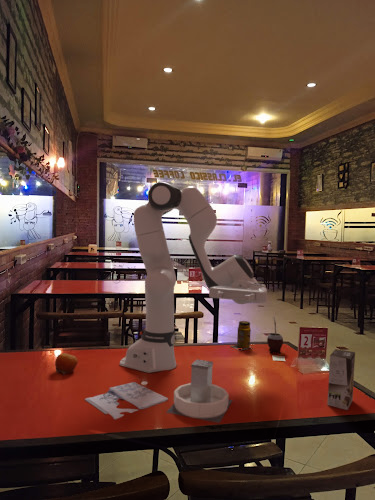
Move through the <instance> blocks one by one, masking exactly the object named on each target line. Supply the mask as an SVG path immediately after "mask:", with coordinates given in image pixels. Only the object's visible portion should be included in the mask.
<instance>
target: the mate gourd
mask: <svg viewBox="0 0 375 500" xmlns="http://www.w3.org/2000/svg"><path fill="white" fill-rule="evenodd" d="M272 319H273V321H274V323H273V324H274V333H273V332H271V333H269V334H268V336H267V338H266V342H267V346H268V348H269V349H268V351H269V350H270V351H269V353H270V354H274V353H275V352H276V354H279V355H280V354H281V350H282V347H283V344H284V338H283V336H282V334H280V333H277V322H276V317H275V316H273V318H272ZM273 352H274V353H273Z"/></svg>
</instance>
